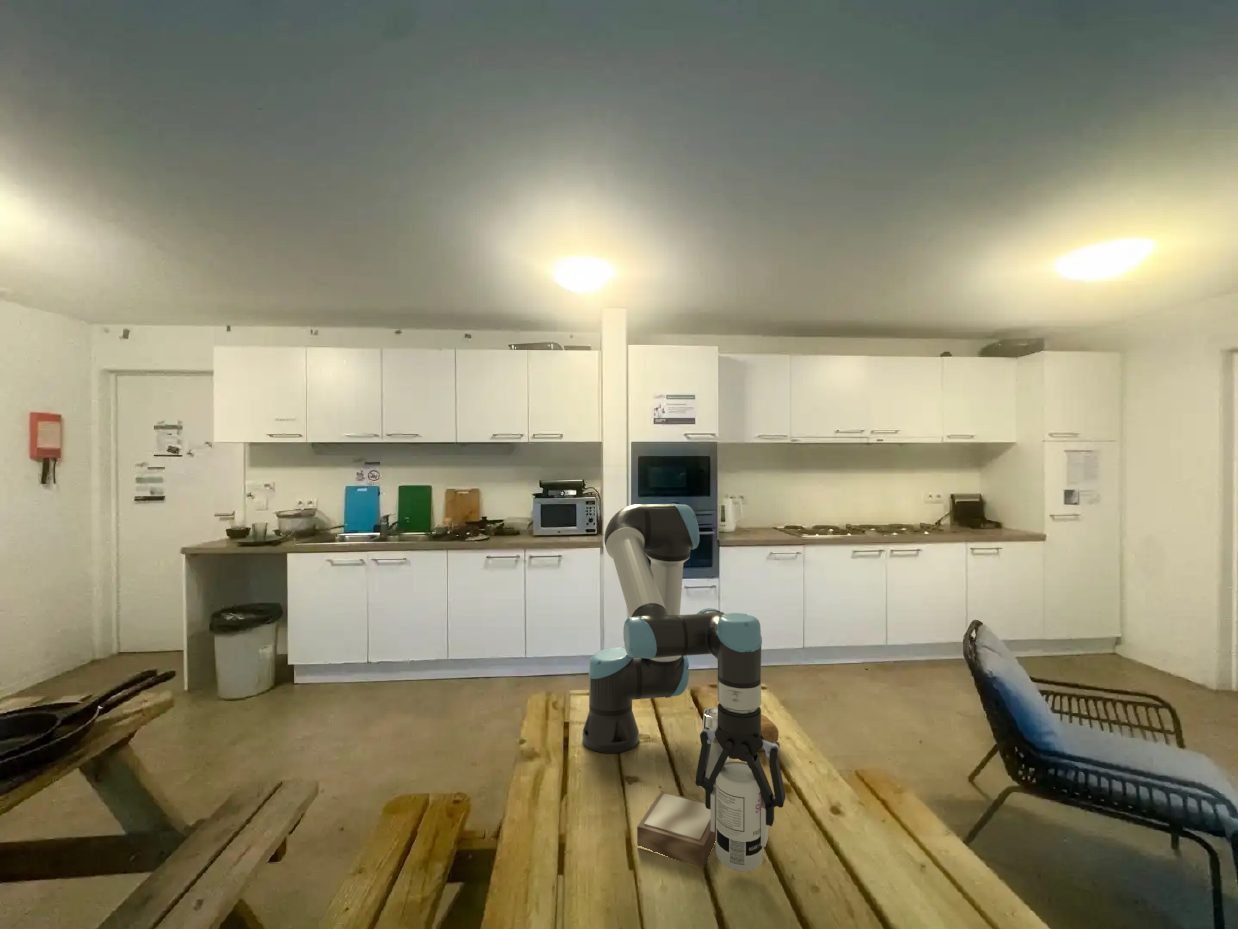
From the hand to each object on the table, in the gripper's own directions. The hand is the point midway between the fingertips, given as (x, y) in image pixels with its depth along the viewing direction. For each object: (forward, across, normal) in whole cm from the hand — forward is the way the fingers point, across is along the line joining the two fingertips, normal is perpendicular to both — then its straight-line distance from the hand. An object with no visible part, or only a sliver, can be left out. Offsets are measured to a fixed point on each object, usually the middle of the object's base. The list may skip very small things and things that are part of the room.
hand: (739, 834), depth 95 cm
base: (+7, -13, +5) cm, 16 cm away
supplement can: (+4, 0, 0) cm, 4 cm away
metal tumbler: (+8, -12, +29) cm, 33 cm away
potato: (+8, -7, +48) cm, 50 cm away
